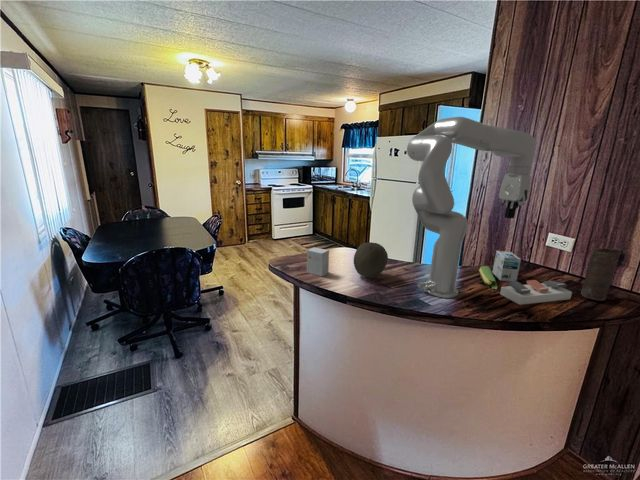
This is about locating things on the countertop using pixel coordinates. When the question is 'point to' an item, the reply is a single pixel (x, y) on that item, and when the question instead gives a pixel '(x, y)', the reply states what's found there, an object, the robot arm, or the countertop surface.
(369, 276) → the dark brown sphere
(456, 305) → the countertop surface
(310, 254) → the small box
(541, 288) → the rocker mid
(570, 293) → the rocker switch panel
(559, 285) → the rocker right
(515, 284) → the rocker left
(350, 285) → the countertop surface
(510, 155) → the robot arm
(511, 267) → the light bulb box
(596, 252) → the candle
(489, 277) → the edible corn
